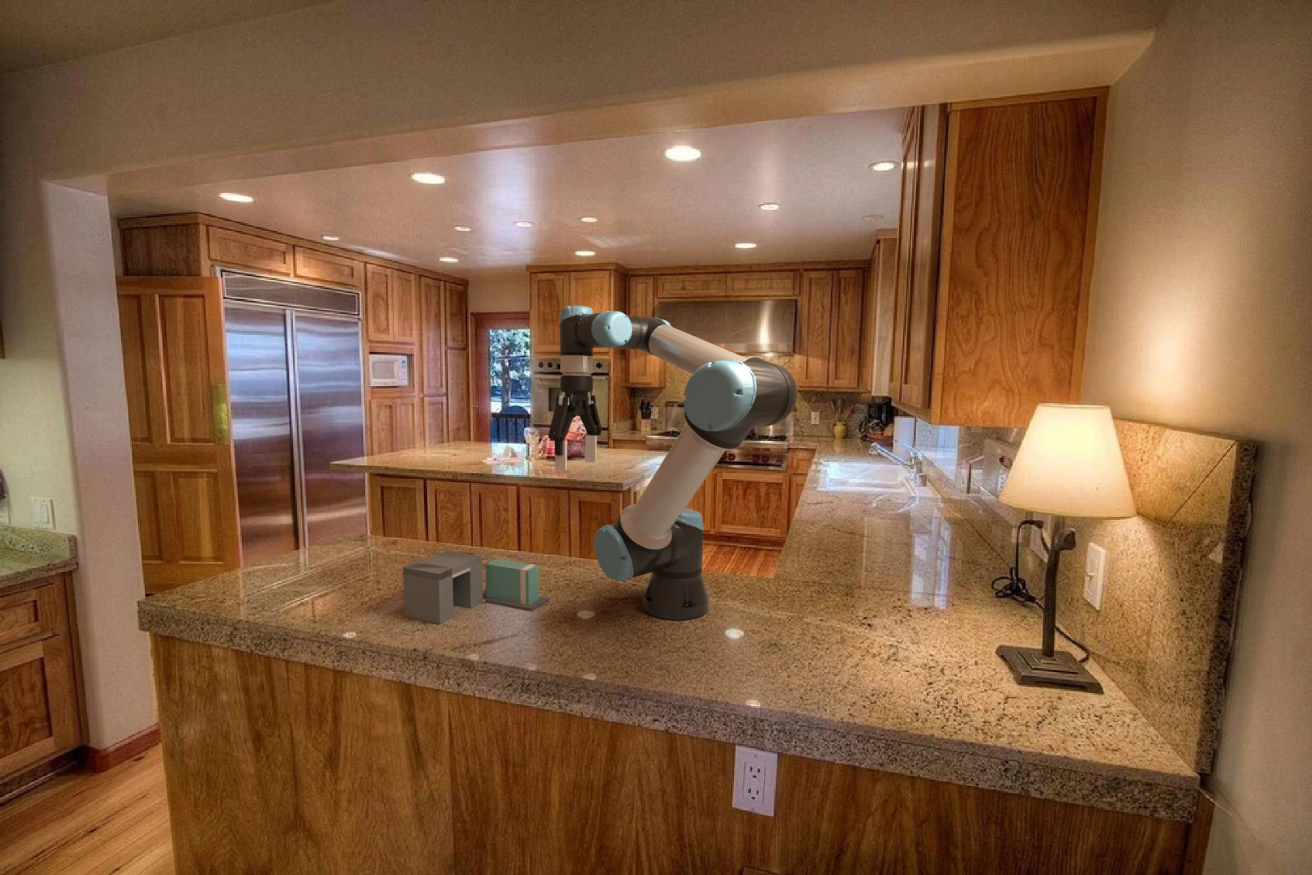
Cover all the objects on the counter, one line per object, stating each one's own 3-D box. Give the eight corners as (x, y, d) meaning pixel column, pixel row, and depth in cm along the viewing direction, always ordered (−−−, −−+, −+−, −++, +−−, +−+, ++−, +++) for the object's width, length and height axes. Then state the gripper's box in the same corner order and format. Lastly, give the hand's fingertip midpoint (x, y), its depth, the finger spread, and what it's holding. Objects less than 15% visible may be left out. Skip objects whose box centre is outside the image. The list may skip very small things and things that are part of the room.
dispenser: (482, 601, 133) (481, 555, 132) (440, 624, 121) (438, 573, 119) (449, 595, 137) (448, 550, 136) (404, 616, 124) (403, 567, 123)
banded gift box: (538, 598, 134) (538, 565, 133) (528, 605, 130) (528, 570, 129) (497, 591, 138) (496, 558, 137) (485, 596, 134) (485, 563, 134)
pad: (549, 600, 134) (549, 598, 134) (531, 611, 128) (531, 608, 128) (504, 591, 139) (504, 589, 139) (485, 601, 133) (485, 599, 133)
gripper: (589, 375, 145) (589, 458, 147) (531, 373, 122) (532, 471, 124) (615, 375, 142) (615, 460, 144) (561, 374, 119) (561, 474, 121)
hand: (576, 465), depth 134 cm, fingers open, 13 cm apart
